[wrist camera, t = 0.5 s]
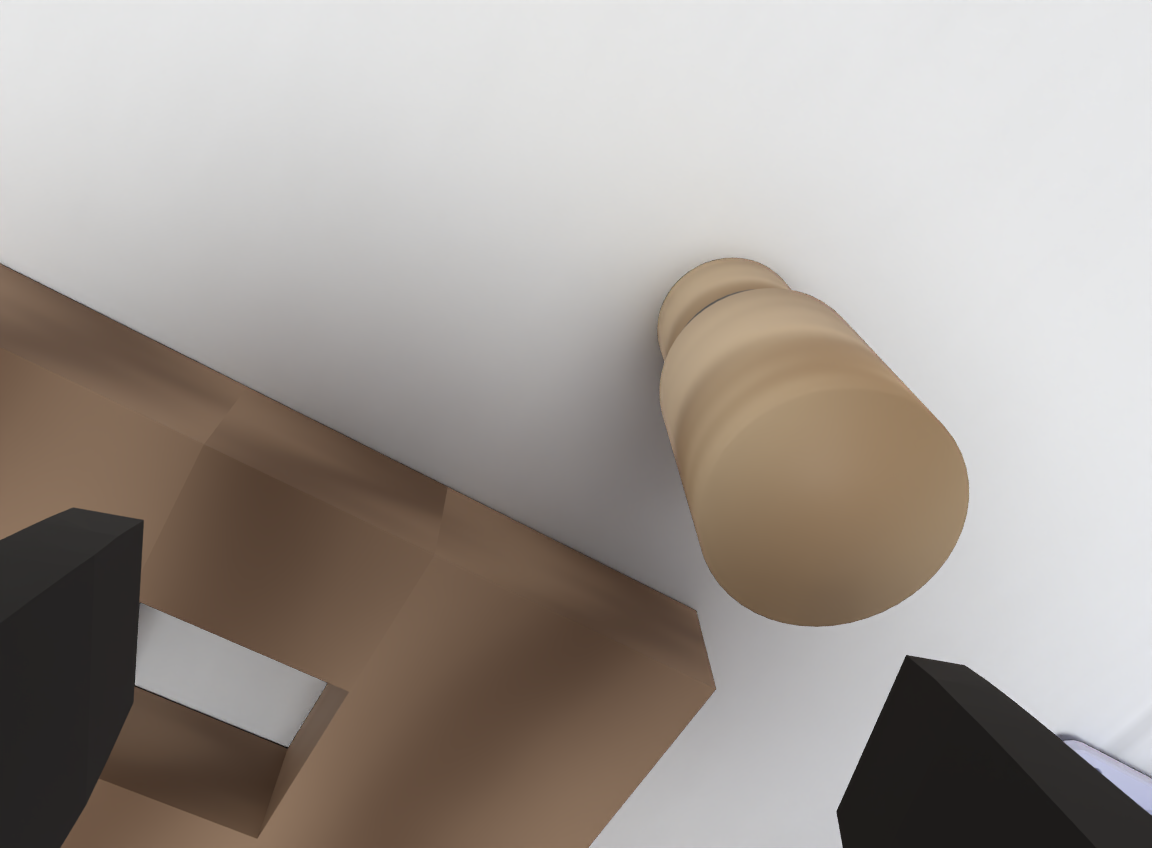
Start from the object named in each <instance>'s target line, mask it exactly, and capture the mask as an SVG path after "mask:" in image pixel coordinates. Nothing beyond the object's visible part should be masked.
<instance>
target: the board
mask: <svg viewBox="0 0 1152 848" xmlns="http://www.w3.org/2000/svg"><path fill="white" fill-rule="evenodd" d="M73 507H74V508H80V509H85V510H91V511H97V512H102V513H108V514H113V515H119V516H125V517H130V518H136V519H142V520H144V530H143V547H142V565H141V582H140V599H139V603H140V602H141V603H143V604H146V605H148V606H150V607H153V608H155V609H157V610H160V611H162V612H164V613H167V614H169V615H171V616H174V617H176V618H178V619H181V620H183V621H185V622H188V623H190V624H192V625H195V626H197V627H199V628H201V629H204V630H206V631H208V632H211V633H213V634H215V635H218V636H220V637H222V638H225V639H227V640H229V641H232V642H234V643H236V644H239V645H241V646H243V647H246V648H248V649H250V650H253V651H255V652H257V653H260V654H262V655H264V656H267V657H269V658H271V659H274V660H276V661H278V662H281V663H283V664H285V665H288V666H290V667H292V668H295V669H297V670H299V671H302V672H304V673H306V674H309V675H311V676H313V677H316V678H318V679H320V680H322V681H325V682H327V683H328V684H327V685H326V687H325V689H324V690H323V692H322V694H321V695H320V697H319V698H318V700H317V702H316V703H315V705H314V707H313V708H312V710H311V712H310V713H309V715H308V716H307V718H306V720H305V721H304V723H303V725H302V726H301V728H300V730H299V731H298V733H297V734H296V736H295V738H294V739H293V741H292V743H291V744H290V746H289V748H288V749H287V748H284V747H282V746H280V745H277V744H275V743H272V742H270V741H267V740H265V739H262V738H260V737H257V736H255V735H253V734H250V733H248V732H245V731H243V730H240V729H238V728H235V727H233V726H231V725H228V724H226V723H223V722H221V721H218V720H216V719H213V718H211V717H208V716H206V715H204V714H201V713H199V712H196V711H194V710H191V709H189V708H186V707H184V706H181V705H179V704H177V703H174V702H172V701H169V700H167V699H164V698H162V697H159V696H157V695H154V694H152V693H150V692H147V691H145V690H142V689H140V688H137V687H134V702H133V705H132V707H131V709H130V711H129V714H128V716H127V718H126V720H125V723H124V725H123V727H122V729H121V731H120V734H119V736H118V738H117V740H116V743H115V745H114V747H113V749H112V751H111V754H110V756H109V758H108V760H107V762H106V764H105V767H104V769H103V771H102V773H101V775H100V777H99V779H98V781H97V783H96V785H95V788H94V790H93V792H92V794H91V796H90V798H89V800H88V802H87V804H86V806H85V808H84V810H83V811H82V813H81V815H80V816H79V818H78V820H77V821H76V823H75V825H74V826H73V828H72V830H71V831H70V833H69V835H68V836H67V838H66V839H65V841H64V843H63V844H62V846H61V848H588V847H589V846H590V845H591V843H592V842H593V841H594V840H595V839H596V837H597V836H598V835H599V834H600V832H601V831H602V830H603V829H604V827H605V826H606V825H607V824H608V822H609V821H610V820H611V819H612V817H613V816H614V815H615V814H616V812H617V811H618V810H619V809H620V808H621V806H622V805H623V804H624V803H625V801H626V800H627V799H628V798H629V796H630V795H631V794H632V793H633V791H634V790H635V789H636V788H637V786H638V785H639V784H640V783H641V782H642V780H643V779H644V778H645V777H646V775H647V774H648V773H649V772H650V770H651V769H652V768H653V767H654V765H655V764H656V763H657V762H658V760H659V759H660V758H661V757H662V756H663V754H664V753H665V752H666V751H667V749H668V748H669V747H670V746H671V744H672V743H673V742H674V741H675V739H676V738H677V737H678V736H679V734H680V733H681V732H682V731H683V730H684V728H685V727H686V726H687V725H688V723H689V722H690V721H691V720H692V718H693V717H694V716H695V715H696V713H697V712H698V711H699V710H700V708H701V707H702V706H703V705H704V704H705V702H706V701H707V700H708V699H709V697H710V696H711V695H712V694H713V692H714V691H715V690H716V687H715V683H714V679H713V675H712V671H711V667H710V663H709V659H708V655H707V651H706V647H705V643H704V639H703V635H702V631H701V627H700V623H699V619H698V615H697V611H696V610H694V609H692V608H690V607H688V606H686V605H684V604H682V603H680V602H678V601H676V600H674V599H672V598H670V597H668V596H666V595H664V594H662V593H660V592H658V591H656V590H654V589H652V588H650V587H648V586H646V585H643V584H641V583H639V582H637V581H635V580H633V579H631V578H629V577H627V576H625V575H623V574H621V573H619V572H617V571H615V570H613V569H611V568H609V567H607V566H605V565H603V564H601V563H599V562H597V561H595V560H593V559H591V558H589V557H587V556H585V555H583V554H581V553H579V552H577V551H575V550H573V549H571V548H569V547H567V546H565V545H563V544H561V543H559V542H557V541H555V540H553V539H551V538H549V537H547V536H545V535H543V534H541V533H539V532H537V531H535V530H533V529H531V528H529V527H527V526H525V525H523V524H521V523H519V522H517V521H515V520H513V519H511V518H509V517H507V516H505V515H503V514H501V513H499V512H497V511H495V510H493V509H491V508H489V507H487V506H485V505H483V504H481V503H479V502H477V501H475V500H473V499H471V498H469V497H467V496H465V495H463V494H461V493H459V492H457V491H455V490H453V489H451V488H449V487H447V486H445V485H443V484H441V483H439V482H437V481H435V480H433V479H431V478H429V477H427V476H425V475H423V474H421V473H419V472H417V471H415V470H413V469H411V468H409V467H407V466H405V465H403V464H401V463H399V462H397V461H395V460H393V459H391V458H389V457H387V456H385V455H383V454H381V453H379V452H377V451H375V450H373V449H371V448H369V447H367V446H365V445H363V444H361V443H359V442H357V441H355V440H353V439H351V438H349V437H347V436H345V435H343V434H341V433H339V432H337V431H335V430H333V429H330V428H328V427H326V426H324V425H322V424H320V423H318V422H316V421H314V420H312V419H310V418H308V417H306V416H304V415H302V414H300V413H298V412H296V411H294V410H292V409H290V408H288V407H286V406H284V405H282V404H280V403H278V402H276V401H274V400H272V399H270V398H268V397H266V396H264V395H262V394H260V393H258V392H256V391H254V390H252V389H250V388H248V387H246V386H244V385H242V384H240V383H238V382H236V381H234V380H232V379H230V378H228V377H226V376H224V375H222V374H220V373H218V372H216V371H214V370H212V369H210V368H208V367H206V366H204V365H202V364H200V363H198V362H196V361H194V360H192V359H190V358H188V357H186V356H184V355H182V354H180V353H178V352H176V351H174V350H172V349H170V348H168V347H166V346H164V345H162V344H160V343H158V342H156V341H154V340H152V339H150V338H148V337H146V336H144V335H142V334H140V333H138V332H136V331H134V330H132V329H130V328H128V327H126V326H124V325H122V324H120V323H118V322H116V321H114V320H112V319H110V318H108V317H106V316H104V315H102V314H100V313H98V312H96V311H94V310H92V309H90V308H88V307H86V306H84V305H82V304H80V303H78V302H76V301H74V300H72V299H70V298H68V297H66V296H64V295H62V294H60V293H58V292H56V291H54V290H52V289H50V288H48V287H46V286H44V285H42V284H40V283H38V282H36V281H34V280H32V279H30V278H28V277H26V276H24V275H22V274H20V273H17V272H15V271H13V270H11V269H9V268H7V267H5V266H3V265H1V264H0V540H1V539H4V538H6V537H8V536H10V535H12V534H14V533H16V532H18V531H20V530H22V529H25V528H27V527H29V526H31V525H33V524H35V523H37V522H40V521H42V520H44V519H46V518H49V517H51V516H53V515H56V514H58V513H60V512H63V511H65V510H68V509H70V508H73Z"/></svg>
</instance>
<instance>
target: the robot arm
mask: <svg viewBox="0 0 1152 848" xmlns="http://www.w3.org/2000/svg"><path fill="white" fill-rule="evenodd" d="M143 530H144V520H142V519H136V518H130V517H125V516H119V515H113V514H108V513H102V512H97V511H91V510H85V509H80V508H74V507H73V508H70V509H68V510H65V511H63V512H60V513H58V514H56V515H53V516H51V517H49V518H46V519H44V520H42V521H40V522H37V523H35V524H33V525H31V526H29V527H27V528H25V529H22V530H20V531H18V532H16V533H14V534H12V535H10V536H8V537H6V538H4V539H1V540H0V848H61V846H62V844H63V843H64V841H65V839H66V838H67V836H68V835H69V833H70V831H71V830H72V828H73V826H74V825H75V823H76V821H77V820H78V818H79V816H80V815H81V813H82V811H83V810H84V808H85V806H86V804H87V802H88V800H89V798H90V796H91V794H92V792H93V790H94V788H95V785H96V783H97V781H98V779H99V777H100V775H101V773H102V771H103V769H104V767H105V764H106V762H107V760H108V758H109V756H110V754H111V751H112V749H113V747H114V745H115V743H116V740H117V738H118V736H119V734H120V731H121V729H122V727H123V725H124V723H125V720H126V718H127V716H128V714H129V711H130V709H131V707H132V705H133V702H134V687H135V669H136V652H137V634H138V617H139V599H140V582H141V565H142V547H143ZM837 817H838V823H839V829H840V834H841V840H842V845H843V848H1152V778H1150V777H1148V776H1146V775H1144V774H1142V773H1140V772H1138V771H1136V770H1134V769H1132V768H1130V767H1128V766H1127V765H1125V764H1123V763H1121V762H1119V761H1117V760H1115V759H1113V758H1111V757H1109V756H1107V755H1105V754H1103V753H1101V752H1100V751H1098V750H1096V749H1094V748H1092V747H1090V746H1088V745H1086V744H1084V743H1082V742H1079V741H1076V740H1067V741H1062V740H1061V739H1060V738H1058V737H1057V736H1056V735H1055V734H1054V733H1052V732H1051V731H1050V730H1049V729H1047V728H1046V727H1045V726H1044V725H1043V724H1041V723H1040V722H1039V721H1038V720H1037V719H1035V718H1034V717H1033V716H1032V715H1030V714H1029V713H1028V712H1027V711H1025V710H1024V709H1023V708H1022V707H1020V706H1019V705H1018V704H1017V703H1015V702H1014V701H1013V700H1012V699H1010V698H1009V697H1008V696H1007V695H1005V694H1004V693H1003V692H1001V691H1000V690H999V689H997V688H996V687H995V686H993V685H992V684H991V683H989V682H988V681H987V680H985V679H984V678H982V677H981V676H980V675H978V674H977V673H975V672H974V671H972V670H971V669H969V668H968V667H966V666H965V665H960V664H954V663H948V662H943V661H937V660H931V659H926V658H920V657H914V656H909V655H906V657H905V659H904V661H903V664H902V666H901V668H900V670H899V673H898V675H897V677H896V679H895V682H894V684H893V686H892V688H891V691H890V693H889V695H888V697H887V700H886V702H885V704H884V706H883V709H882V711H881V713H880V715H879V717H878V720H877V722H876V724H875V726H874V729H873V731H872V733H871V735H870V738H869V740H868V742H867V744H866V747H865V749H864V751H863V753H862V756H861V758H860V760H859V762H858V765H857V767H856V769H855V771H854V773H853V776H852V778H851V780H850V782H849V785H848V787H847V789H846V791H845V794H844V796H843V798H842V800H841V803H840V805H839V807H838V809H837Z"/></svg>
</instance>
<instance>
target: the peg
mask: <svg viewBox="0 0 1152 848" xmlns="http://www.w3.org/2000/svg"><path fill="white" fill-rule="evenodd" d="M657 336H658V342H659V346H660V350H661V353H662V356H663V359H664V365H663V369H662V373H661V379H660V387H659V393H660V405H661V412H662V415H663V419H664V422H665V426H666V429H667V433H668V436H669V439H670V443H671V446H672V450H673V453H674V457H675V460H676V464H677V467H678V471H679V474H680V477H681V481H682V484H683V488H684V491H685V495H686V498H687V502H688V505H689V509H690V512H691V515H692V519H693V522H694V526H695V529H696V533H697V536H698V540H699V543H700V546H701V550H702V553H703V556H704V559H705V561H706V563H707V565H708V567H709V569H710V571H711V573H712V575H713V576H714V577H715V579H716V580H717V582H718V583H719V585H720V586H721V587H722V588H723V589H724V590H725V591H726V592H727V593H728V594H729V595H730V596H731V597H732V598H734V599H735V600H736V601H737V602H739V603H740V604H741V605H743V606H744V607H746V608H748V609H750V610H751V611H753V612H755V613H757V614H759V615H762V616H764V617H766V618H769V619H772V620H775V621H779V622H782V623H787V624H793V625H799V626H815V627H818V626H834V625H840V624H846V623H851V622H855V621H858V620H862V619H866V618H869V617H871V616H874V615H876V614H879V613H881V612H884V611H886V610H887V609H889V608H891V607H893V606H895V605H897V604H899V603H900V602H902V601H903V600H905V599H906V598H908V597H909V596H911V595H913V594H914V593H915V592H916V591H917V590H919V589H920V588H921V587H922V586H923V585H925V584H926V583H927V582H928V581H929V580H930V579H931V578H932V577H933V576H934V575H935V574H936V573H937V571H938V570H939V569H940V568H941V566H942V565H943V564H944V562H945V561H946V560H947V558H948V557H949V555H950V553H951V552H952V550H953V548H954V547H955V545H956V543H957V541H958V539H959V536H960V534H961V532H962V529H963V526H964V522H965V519H966V515H967V509H968V502H969V481H968V475H967V469H966V466H965V463H964V460H963V457H962V454H961V452H960V450H959V448H958V446H957V444H956V442H955V440H954V439H953V437H952V436H951V435H950V433H949V432H948V431H947V429H946V428H945V427H944V426H943V424H942V423H941V422H940V421H939V420H938V419H937V418H936V417H935V416H934V415H933V414H932V413H931V412H930V411H929V410H928V409H927V407H926V406H925V405H924V404H923V403H922V402H921V401H920V400H919V399H918V398H917V397H916V396H915V395H914V394H913V393H912V391H911V390H910V389H909V388H908V387H907V386H906V385H905V384H904V383H903V382H902V381H901V380H900V379H899V378H898V377H897V376H896V374H895V373H894V372H893V371H892V370H891V369H890V368H889V367H888V366H887V365H886V364H885V363H884V362H883V361H882V360H881V359H880V357H879V356H878V355H877V354H876V353H875V352H874V351H873V350H872V349H871V348H870V347H869V346H868V345H867V344H866V343H865V341H864V340H863V339H862V338H861V337H860V336H859V335H858V334H857V333H856V332H855V331H854V330H853V329H852V328H851V327H850V326H849V324H848V323H847V322H846V321H845V320H844V319H843V318H842V317H841V316H840V315H839V314H838V313H837V312H836V311H835V310H834V309H832V308H831V307H829V306H828V305H827V304H825V303H824V302H822V301H820V300H818V299H816V298H814V297H812V296H810V295H807V294H804V293H801V292H798V291H793V290H791V289H790V288H789V286H788V285H787V284H786V283H785V282H784V281H783V279H782V278H781V277H780V276H779V275H777V274H776V273H775V272H774V271H772V270H771V269H770V268H768V267H766V266H764V265H762V264H761V263H758V262H755V261H752V260H748V259H743V258H723V259H718V260H713V261H710V262H707V263H704V264H702V265H700V266H698V267H696V268H694V269H693V270H691V271H690V272H688V273H687V274H686V275H684V276H683V277H682V278H681V279H680V280H679V281H678V282H677V283H676V284H675V285H674V286H673V288H672V289H671V290H670V292H669V293H668V295H667V297H666V298H665V300H664V302H663V305H662V307H661V310H660V314H659V318H658V325H657Z"/></svg>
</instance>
